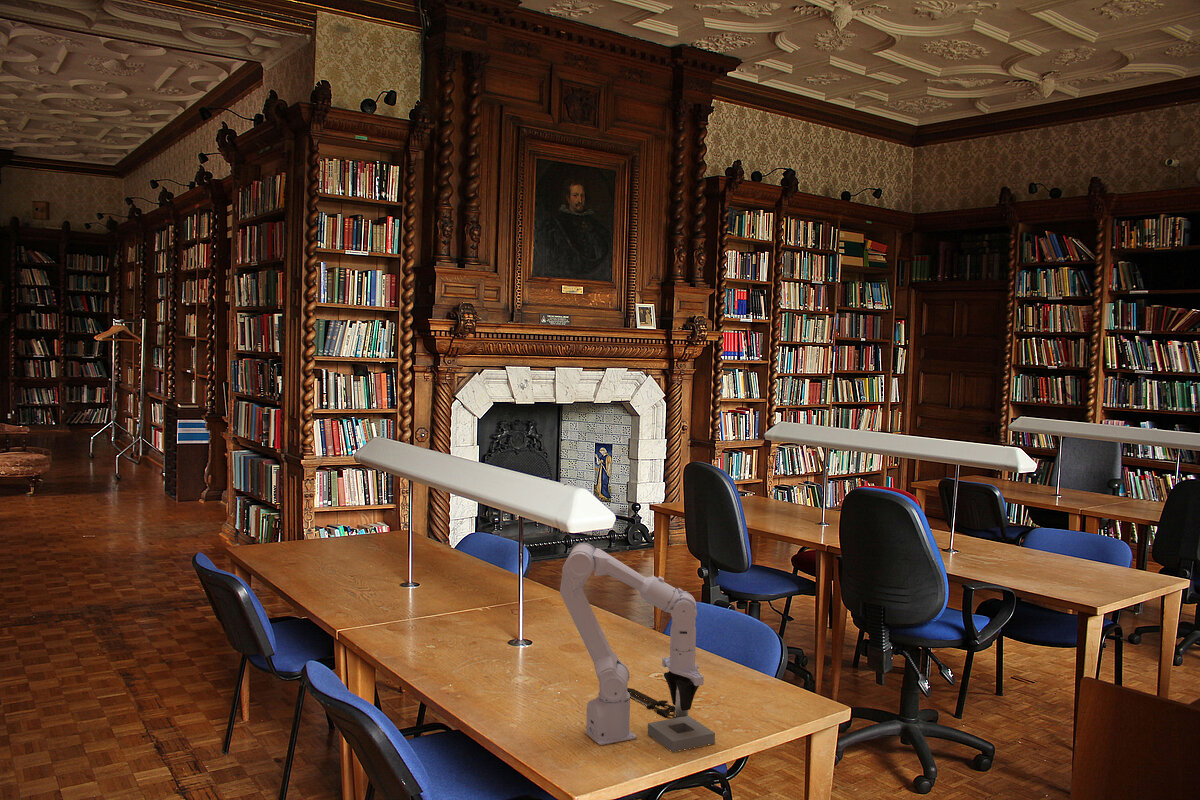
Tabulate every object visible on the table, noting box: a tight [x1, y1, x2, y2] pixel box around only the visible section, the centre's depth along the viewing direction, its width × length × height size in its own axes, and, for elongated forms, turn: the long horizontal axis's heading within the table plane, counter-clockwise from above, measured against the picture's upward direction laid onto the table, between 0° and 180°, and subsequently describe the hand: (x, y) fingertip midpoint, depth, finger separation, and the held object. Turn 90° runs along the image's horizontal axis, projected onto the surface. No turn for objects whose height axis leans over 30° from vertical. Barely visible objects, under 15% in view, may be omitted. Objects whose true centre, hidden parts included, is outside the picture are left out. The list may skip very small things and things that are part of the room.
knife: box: [627, 687, 680, 719], centre depth 231 cm, size 25×6×1 cm, turn 30°
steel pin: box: [674, 684, 690, 717], centre depth 209 cm, size 3×3×7 cm
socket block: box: [647, 715, 716, 753], centre depth 209 cm, size 11×11×2 cm
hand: (681, 706), depth 209 cm, fingers closed on steel pin, 3 cm apart
